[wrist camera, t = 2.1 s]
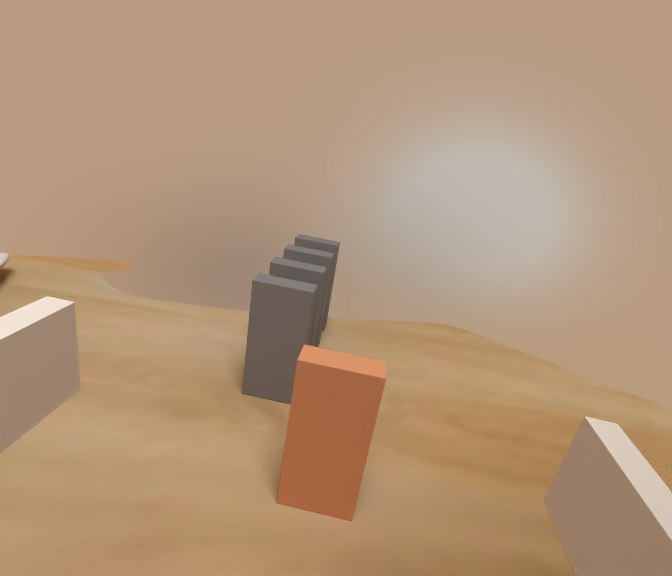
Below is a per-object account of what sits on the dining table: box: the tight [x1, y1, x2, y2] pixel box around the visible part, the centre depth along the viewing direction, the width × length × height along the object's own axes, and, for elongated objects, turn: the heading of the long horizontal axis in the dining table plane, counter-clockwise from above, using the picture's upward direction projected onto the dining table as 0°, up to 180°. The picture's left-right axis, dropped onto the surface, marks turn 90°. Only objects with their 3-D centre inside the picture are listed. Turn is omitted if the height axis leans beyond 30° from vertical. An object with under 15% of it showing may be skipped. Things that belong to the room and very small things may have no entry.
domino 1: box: [269, 257, 327, 346], centre depth 39 cm, size 5×2×11 cm, turn 82°
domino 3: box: [294, 234, 340, 331], centre depth 49 cm, size 5×2×11 cm, turn 82°
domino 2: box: [242, 274, 317, 404], centre depth 35 cm, size 5×2×11 cm, turn 82°
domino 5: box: [277, 345, 387, 521], centre depth 25 cm, size 5×2×11 cm, turn 82°
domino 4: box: [283, 245, 334, 347], centre depth 44 cm, size 5×2×11 cm, turn 82°
